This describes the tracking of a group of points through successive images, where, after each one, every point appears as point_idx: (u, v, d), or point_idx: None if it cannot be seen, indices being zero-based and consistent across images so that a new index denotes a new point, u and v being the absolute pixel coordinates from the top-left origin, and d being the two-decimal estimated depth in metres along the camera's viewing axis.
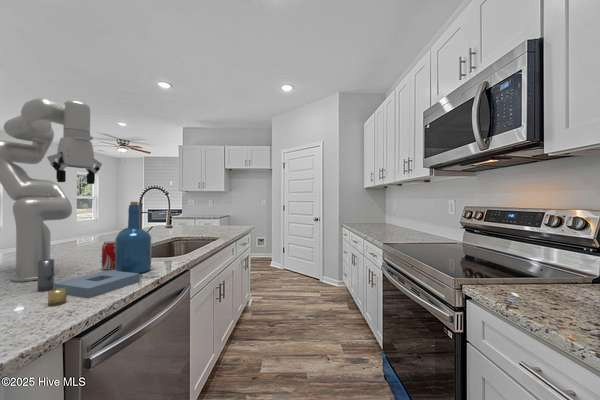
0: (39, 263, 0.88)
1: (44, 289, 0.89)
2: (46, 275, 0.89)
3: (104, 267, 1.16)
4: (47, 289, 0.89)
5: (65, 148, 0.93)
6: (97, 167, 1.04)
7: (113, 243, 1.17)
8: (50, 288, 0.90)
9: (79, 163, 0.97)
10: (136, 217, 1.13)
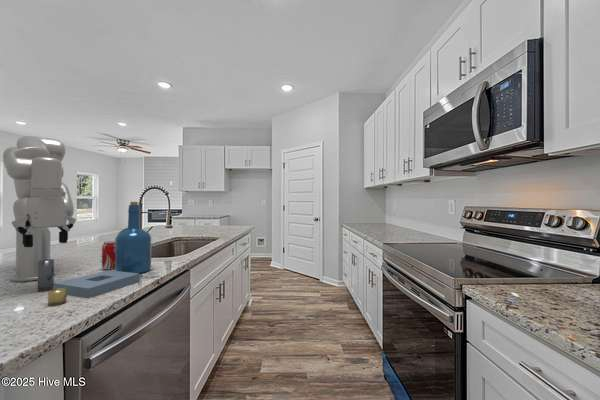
0: (39, 263, 0.88)
1: (44, 289, 0.89)
2: (46, 275, 0.89)
3: (104, 267, 1.16)
4: (47, 289, 0.89)
5: (32, 210, 0.85)
6: (70, 224, 0.97)
7: (113, 243, 1.17)
8: (50, 288, 0.90)
9: (49, 223, 0.89)
10: (136, 217, 1.13)
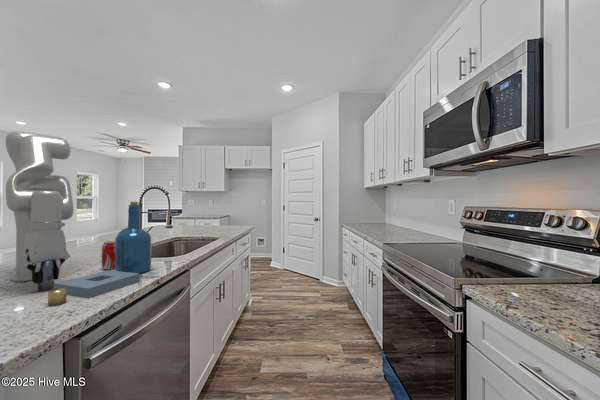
0: None
1: (44, 289, 0.89)
2: (46, 275, 0.89)
3: (104, 267, 1.16)
4: (47, 289, 0.89)
5: (32, 245, 0.85)
6: (63, 259, 0.95)
7: (113, 243, 1.17)
8: (50, 288, 0.90)
9: (48, 257, 0.89)
10: (136, 217, 1.13)
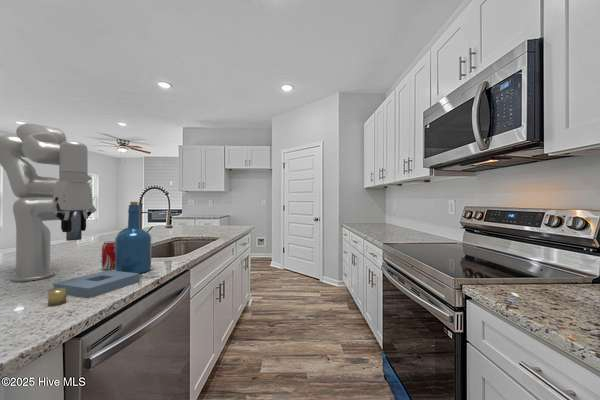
0: None
1: (73, 238, 0.90)
2: (75, 225, 0.91)
3: (104, 267, 1.16)
4: (75, 238, 0.91)
5: (61, 193, 0.87)
6: (89, 211, 0.96)
7: (113, 243, 1.17)
8: (78, 238, 0.91)
9: (76, 207, 0.91)
10: (136, 217, 1.13)
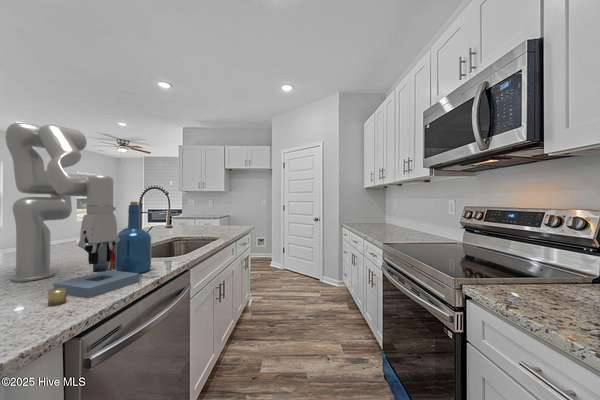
0: None
1: (99, 270, 0.92)
2: (101, 257, 0.92)
3: None
4: (102, 270, 0.93)
5: (89, 227, 0.89)
6: (114, 242, 0.98)
7: None
8: (104, 269, 0.93)
9: (103, 239, 0.93)
10: (136, 217, 1.13)
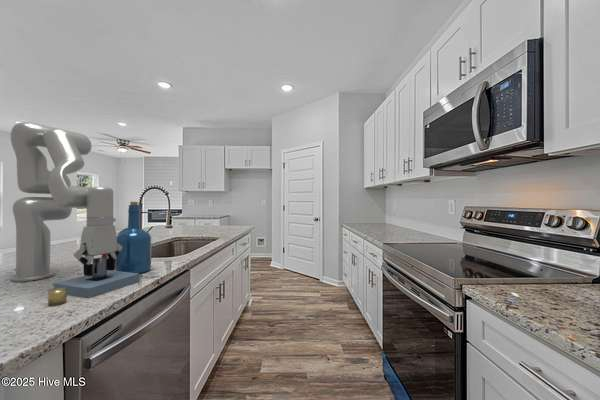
0: (94, 261, 0.92)
1: None
2: (101, 273, 0.92)
3: None
4: None
5: (89, 239, 0.89)
6: (117, 251, 0.99)
7: None
8: None
9: (102, 250, 0.93)
10: (136, 217, 1.13)
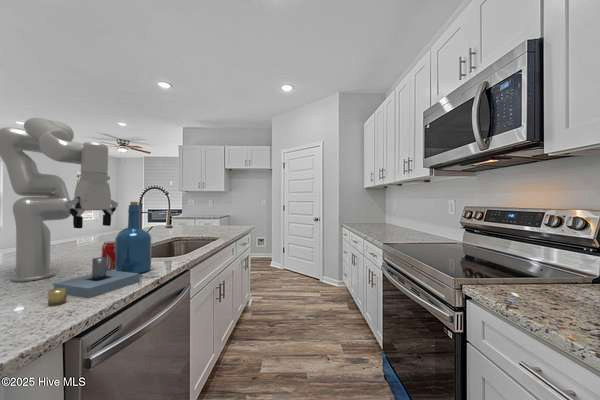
0: (94, 261, 0.92)
1: None
2: (101, 273, 0.92)
3: None
4: None
5: (83, 193, 0.89)
6: (113, 207, 1.00)
7: (113, 243, 1.17)
8: None
9: (96, 206, 0.93)
10: (136, 217, 1.13)
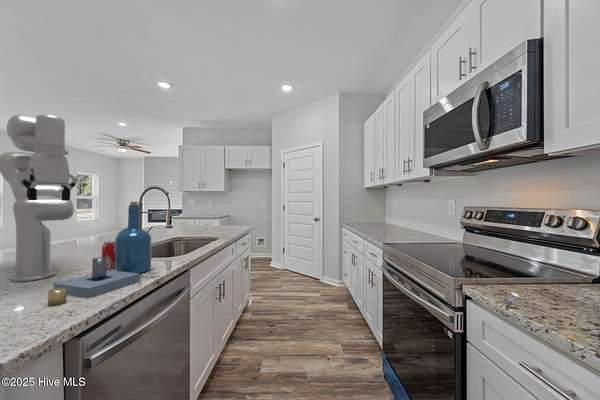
0: (94, 261, 0.92)
1: None
2: (101, 273, 0.92)
3: None
4: None
5: (36, 165, 0.88)
6: (73, 183, 0.99)
7: (113, 243, 1.17)
8: None
9: (52, 179, 0.92)
10: (136, 217, 1.13)
